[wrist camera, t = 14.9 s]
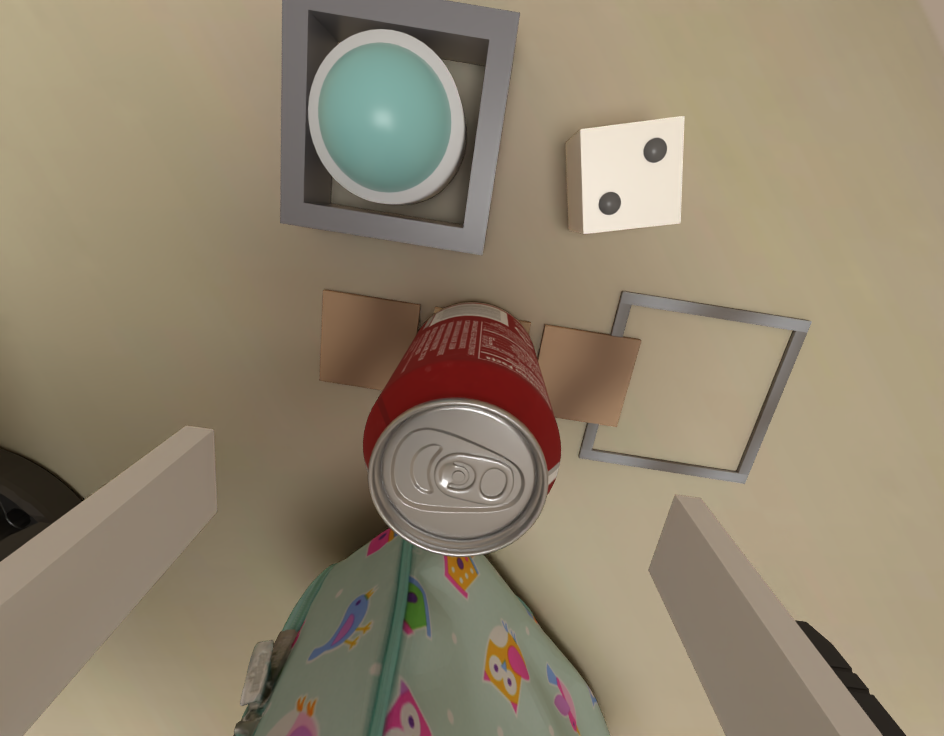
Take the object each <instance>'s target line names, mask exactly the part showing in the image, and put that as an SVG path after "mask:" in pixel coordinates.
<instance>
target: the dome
mask: <svg viewBox="0 0 944 736" xmlns="http://www.w3.org/2000/svg"><path fill="white" fill-rule="evenodd" d="M308 120H309V127H310V133H311V137H312V141H313V144H314V146H315V149H316V152H317V154H318V156H319V158H320V160H321V161H322V163H323V165H324V166H325V168H326V169H327V171H328V172H329V173H330V174H331V175H332V177H333V178H334V179H335V180H336V181H337V182H338V183H339V184H340V185H341V186H343V187H344V188H345V189H347V190H348V191H349V192H351V193H353V194H354V195H356V196H358V197H360V198H363V199H365V200H368V201H371V202H376V203H382V204H397V205H407V204H415V203H419V202H422V201H425V200H427V199H429V198H431V197H433V196H435V195H436V194H438V193H439V192H441V191H442V190H443V189H444V188H445V187H446V186H447V185H448V184H449V183H450V181H451V180H452V179H453V177H454V176H455V174H456V173H457V171H458V169H459V167H460V165H461V162H462V159H463V156H464V153H465V147H466V139H467V128H466V120H465V114H464V111H463V107H462V104H461V100H460V97H459V93H458V90H457V87H456V85H455V82H454V80H453V78H452V76H451V74H450V72H449V70H448V69H447V67H446V66H445V64H444V63H443V62H442V60H441V59H440V58H439V57H438V56H437V55H436V54H435V52H434V51H433V50H432V49H430V48H429V47H428V46H427V45H425V44H424V43H423V42H421V41H419V40H418V39H416V38H414V37H412V36H410V35H408V34H405V33H403V32H399V31H394V30H387V29H375V30H368V31H364V32H360V33H357V34H355V35H353V36H350V37H349V38H347V39H345V40H344V41H342V42H341V43H340V44H338V45H337V46H336V47H335V48H334V49H333V50H332V51H331V52H330V53H329V54H328V55H327V56H326V58H325V59H324V61H323V62H322V64H321V65H320V67H319V69H318V71H317V73H316V75H315V78H314V80H313V83H312V86H311V91H310V96H309V105H308Z"/></svg>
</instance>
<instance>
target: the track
mask: <svg viewBox="0 0 944 736" xmlns="http://www.w3.org/2000/svg"><path fill="white" fill-rule="evenodd" d="M631 305H637V306H643V307H649V308H656V309H662V310H668V311H675V312H681V313H687V314H693V315H700V316H706V317H712V318H719V319H725V320H731V321H737V322H744V323H750V324H756V325H763V326H769V327H775V328H781V329H788V330H793V333H792V335H791V338H790V340H789V343H788V345H787V348H786V350H785V353H784V355H783V358H782V360H781V363H780V365H779V368H778V370H777V373H776V375H775V378H774V380H773V383H772V385H771V388H770V390H769V393H768V395H767V398H766V400H765V403H764V405H763V407H762V410H761V412H760V415H759V417H758V420H757V422H756V425H755V427H754V430H753V432H752V435H751V437H750V440H749V442H748V445H747V447H746V450H745V452H744V455H743V457H742V460H741V462H740V465H739V467H738V470H737V472H735V471H729V470H722V469H716V468H709V467H703V466H697V465H690V464H684V463H677V462H671V461H664V460H658V459H652V458H645V457H639V456H632V455H626V454H619V453H613V452H607V451H600V450H594V449H592V448H593V444H594V440H595V437H596V433H597V429H598V426H599V424H601V425H607V426H613V427H617V424H618V420H619V417H620V413H621V410H622V407H623V403H624V400H625V396H626V393H627V389H628V386H629V382H630V379H631V375H632V372H633V368H634V365H635V361H636V358H637V355H638V351H639V348H640V344H641V340H640V339H635V338H628V337H623V334H624V330H625V327H626V323H627V319H628V316H629V312H630V308H631ZM420 306H421V305H420V304H414V303H407V302H401V301H395V300H389V299H382V298H376V297H370V296H363V295H357V294H351V293H344V292H338V291H332V290H323V305H322V329H321V354H320V378H319V381H325V382H332V383H338V384H345V385H351V386H357V387H364V388H370V389H377V390H383V389H384V388H385V386H386V384H387V383H388V381H389V379H390V378H391V376H392V374H393V373H394V371H395V369H396V368H397V366H398V364H399V363H400V361H401V359H402V358H403V356H404V354H405V353H406V351H407V349H408V348H409V346H410V344H411V343H412V341H413V339H414V338H415V336H416V334H417V332H418V324H419V315H420ZM442 309H444V308H439V307H435V310H434V314H435V313H437V312H438V311H440V310H442ZM518 321H519V322H520V323H521V325H522V326H523V327H524V328H525V330H526V331H527V333H528V335H529V330H530V325H531V322H527V321H521V320H518ZM810 325H811V321H808V320H802V319H795V318H789V317H783V316H776V315H770V314H764V313H758V312H751V311H745V310H739V309H733V308H726V307H720V306H714V305H707V304H701V303H695V302H689V301H682V300H676V299H670V298H664V297H657V296H651V295H645V294H639V293H632V292H626V291H622V293H621V297H620V301H619V305H618V309H617V312H616V316H615V320H614V324H613V328H612V331H611V335H610V334H603V333H597V332H591V331H584V330H578V329H572V328H565V327H559V326H553V325H546V324H545V327H544V332H543V337H542V341H541V346H540V351H539V355H538V363H539V367H540V370H541V373H542V377H543V380H544V383H545V387H546V390H547V393H548V397H549V400H550V403H551V407H552V410H553V413H554V417H556V418H562V419H569V420H575V421H581V422H588V423H587V426H586V430H585V434H584V438H583V442H582V445H581V449H580V453H579V458H582V459H589V460H595V461H602V462H608V463H615V464H621V465H627V466H634V467H640V468H647V469H653V470H660V471H666V472H672V473H679V474H685V475H692V476H698V477H705V478H711V479H718V480H724V481H730V482H737V483H743V484H745V482H746V480H747V477H748V475H749V472H750V470H751V467H752V465H753V463H754V460H755V458H756V455H757V453H758V451H759V448H760V446H761V443H762V441H763V438H764V436H765V434H766V431H767V429H768V426H769V424H770V422H771V419H772V417H773V414H774V412H775V409H776V407H777V405H778V402H779V400H780V397H781V395H782V393H783V390H784V388H785V385H786V383H787V380H788V378H789V376H790V373H791V371H792V368H793V366H794V364H795V361H796V359H797V356H798V354H799V351H800V349H801V347H802V344H803V342H804V339H805V337H806V335H807V332H808V330H809V327H810Z"/></svg>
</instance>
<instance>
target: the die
mask: <svg viewBox="0 0 944 736" xmlns="http://www.w3.org/2000/svg"><path fill="white" fill-rule="evenodd" d="M683 141H684V116H679V117H672V118H664V119H656V120H648V121H641V122H633V123H625V124H617V125H610V126H602V127H594V128H586V129H580V130H579V131H578V132H577V133H576V134H575V135H573V136H572V137H571V138H570V139H569V140H568V141H567V142H566V143H565V152H566V177H567V202H568V227H569V230H570V231H574V232H578V233H581V234H589V233H598V232H607V231H615V230H624V229H633V228H642V227H651V226H660V225H669V224H678V223H681V196H682V168H683Z"/></svg>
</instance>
